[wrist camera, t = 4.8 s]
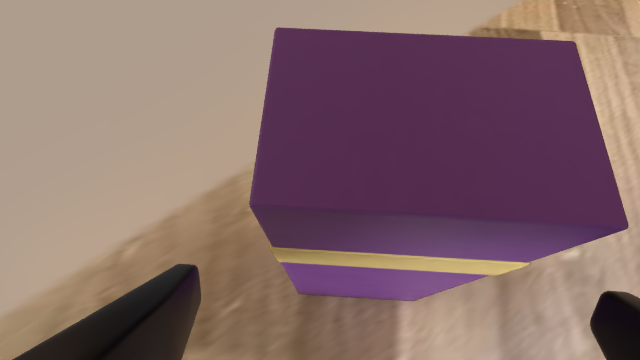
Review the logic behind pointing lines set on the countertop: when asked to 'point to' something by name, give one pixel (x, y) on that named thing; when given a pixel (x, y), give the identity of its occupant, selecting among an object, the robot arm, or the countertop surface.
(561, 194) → the chocolate carton
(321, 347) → the countertop surface
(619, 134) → the countertop surface
